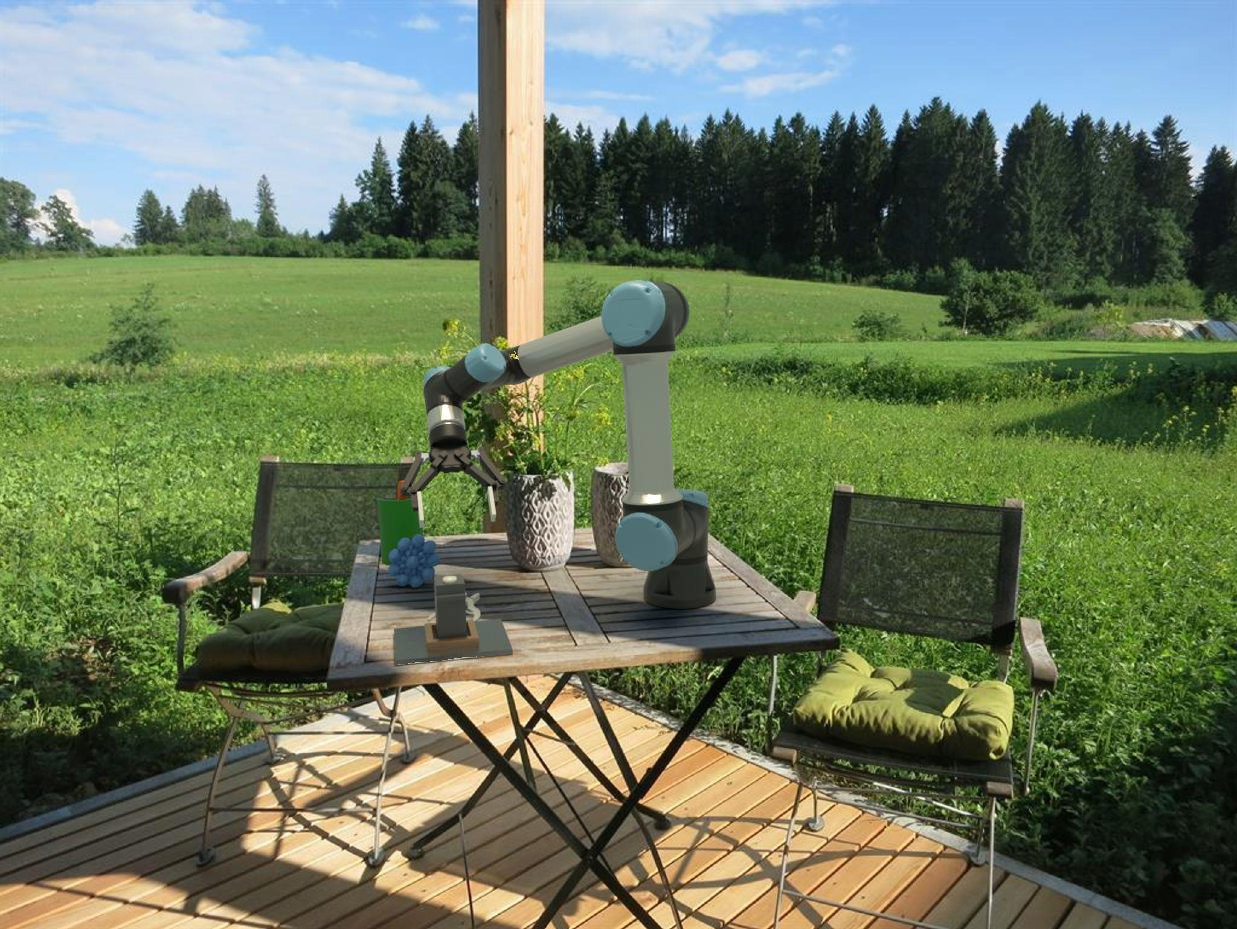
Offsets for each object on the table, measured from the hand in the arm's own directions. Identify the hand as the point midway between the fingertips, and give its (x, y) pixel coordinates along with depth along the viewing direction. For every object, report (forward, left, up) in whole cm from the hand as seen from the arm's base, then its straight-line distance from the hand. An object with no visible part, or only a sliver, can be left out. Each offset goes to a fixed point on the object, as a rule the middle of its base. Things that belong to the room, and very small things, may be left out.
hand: (458, 521), depth 171 cm
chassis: (+3, +12, -20) cm, 23 cm away
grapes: (+8, -25, -20) cm, 33 cm away
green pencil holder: (+10, -47, -20) cm, 52 cm away
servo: (+3, +12, -19) cm, 23 cm away
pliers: (-1, -6, -20) cm, 21 cm away
